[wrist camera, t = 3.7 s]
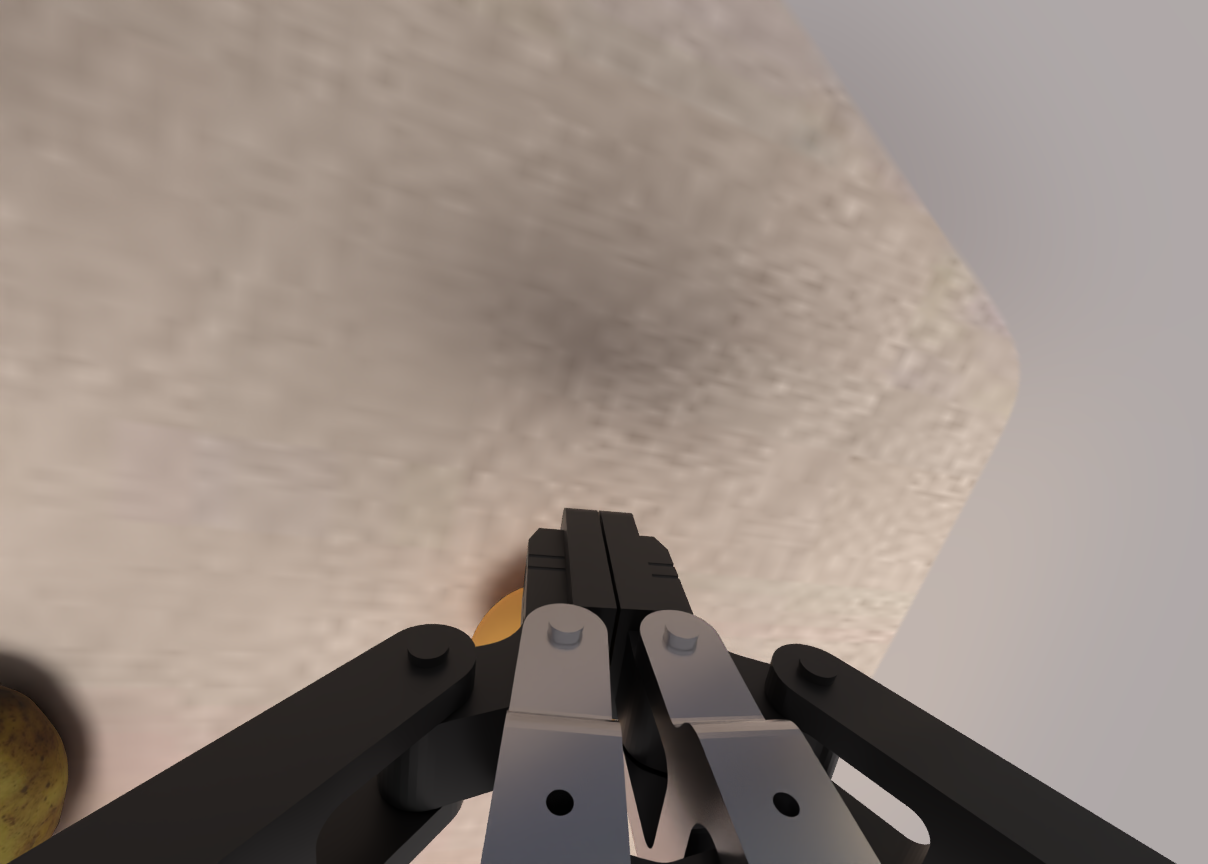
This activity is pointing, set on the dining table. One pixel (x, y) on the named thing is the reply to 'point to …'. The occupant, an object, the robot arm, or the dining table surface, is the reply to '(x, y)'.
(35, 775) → the potato
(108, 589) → the dining table surface
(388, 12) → the dining table surface
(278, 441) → the dining table surface
